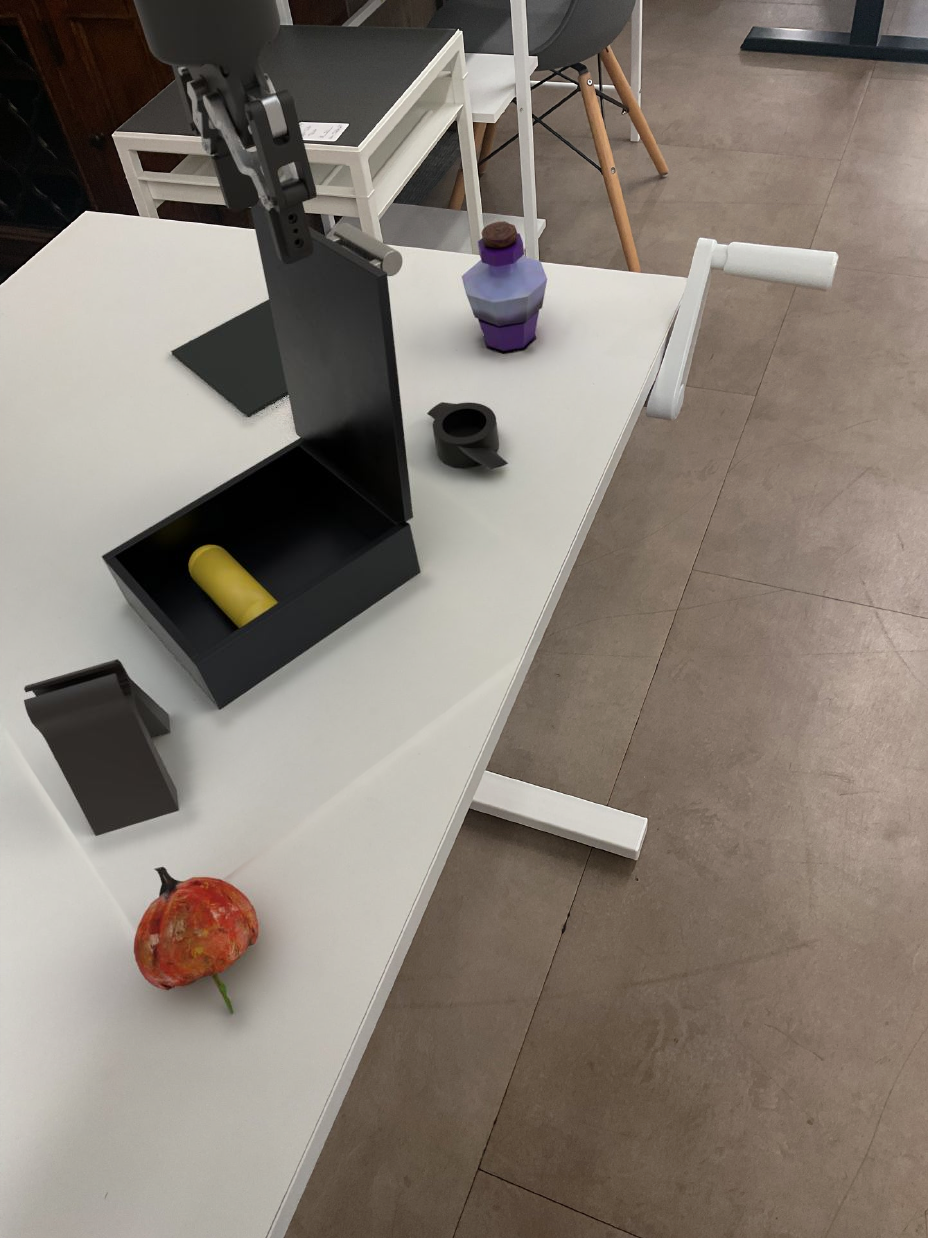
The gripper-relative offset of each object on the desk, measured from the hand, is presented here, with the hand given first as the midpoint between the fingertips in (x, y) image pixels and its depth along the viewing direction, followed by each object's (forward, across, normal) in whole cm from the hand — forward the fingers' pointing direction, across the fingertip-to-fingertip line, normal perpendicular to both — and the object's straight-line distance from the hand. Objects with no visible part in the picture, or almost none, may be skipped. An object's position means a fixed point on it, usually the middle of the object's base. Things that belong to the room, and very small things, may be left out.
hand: (269, 231), depth 66 cm
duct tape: (+29, -4, +14) cm, 32 cm away
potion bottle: (+29, -16, +26) cm, 42 cm away
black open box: (+29, +2, -8) cm, 30 cm away
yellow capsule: (+28, +2, -11) cm, 30 cm away
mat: (+29, -31, +6) cm, 43 cm away
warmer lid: (+12, 0, +2) cm, 12 cm away
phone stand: (+29, +12, -24) cm, 40 cm away
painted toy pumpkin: (+29, +28, -25) cm, 47 cm away
